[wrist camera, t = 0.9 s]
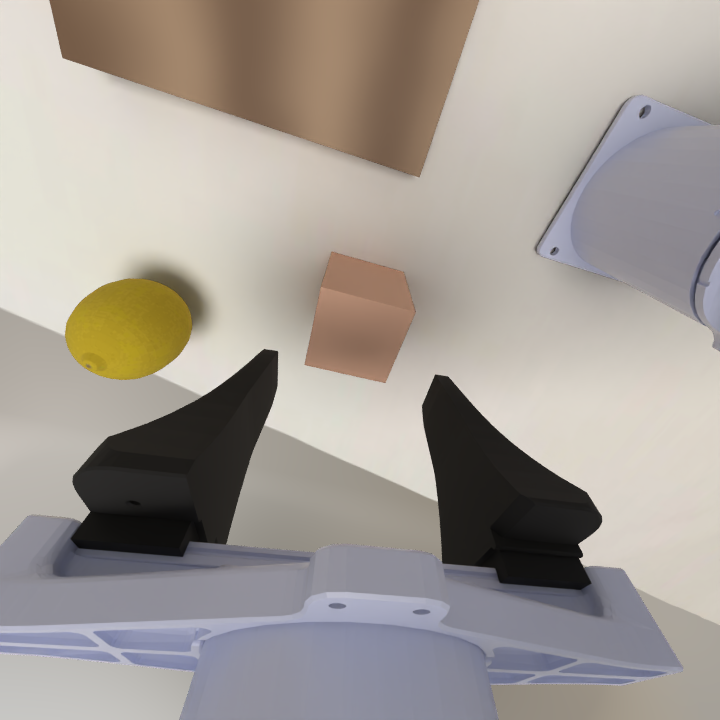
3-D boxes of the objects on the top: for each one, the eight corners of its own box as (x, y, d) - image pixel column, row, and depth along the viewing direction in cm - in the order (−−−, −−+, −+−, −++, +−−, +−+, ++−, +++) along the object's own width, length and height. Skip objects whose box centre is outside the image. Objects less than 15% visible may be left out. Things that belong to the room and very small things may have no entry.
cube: (403, 271, 20) (415, 312, 15) (380, 332, 23) (385, 382, 18) (331, 251, 20) (320, 287, 15) (317, 317, 22) (304, 364, 18)
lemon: (134, 246, 19) (19, 297, 13) (219, 287, 21) (154, 350, 15) (126, 312, 22) (28, 381, 16) (201, 343, 24) (140, 418, 17)
